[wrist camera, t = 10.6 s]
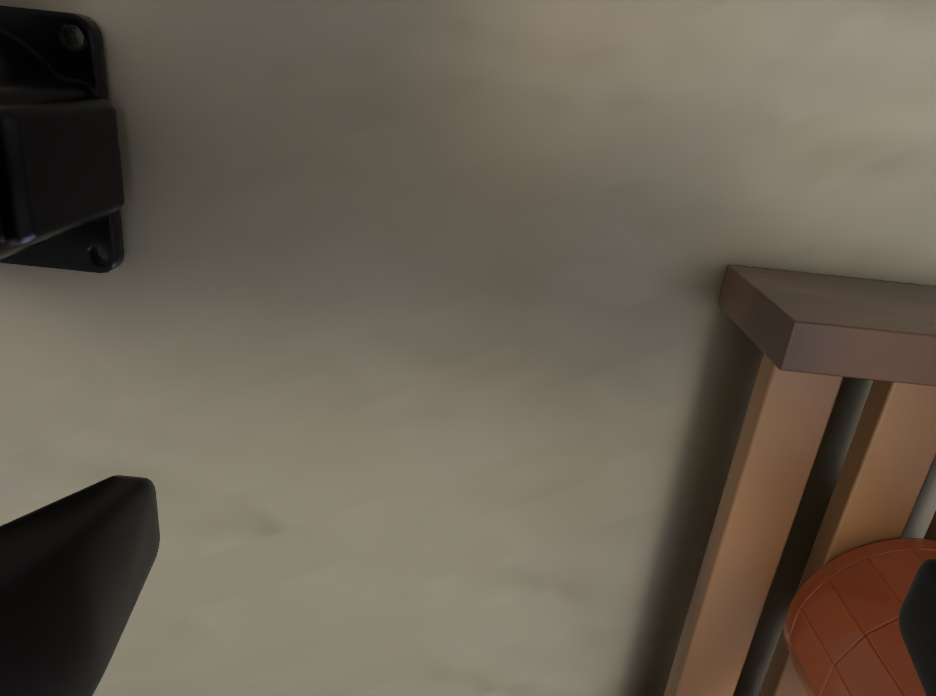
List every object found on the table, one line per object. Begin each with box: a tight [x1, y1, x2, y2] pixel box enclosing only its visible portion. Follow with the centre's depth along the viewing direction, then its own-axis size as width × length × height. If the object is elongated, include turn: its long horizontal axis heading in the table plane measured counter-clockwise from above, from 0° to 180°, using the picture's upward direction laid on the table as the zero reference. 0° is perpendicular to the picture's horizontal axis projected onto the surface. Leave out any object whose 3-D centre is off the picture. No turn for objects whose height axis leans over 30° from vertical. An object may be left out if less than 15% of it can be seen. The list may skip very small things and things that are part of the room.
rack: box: [664, 265, 936, 696], centre depth 20 cm, size 12×18×4 cm, turn 174°
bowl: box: [784, 538, 936, 696], centre depth 18 cm, size 6×6×4 cm
